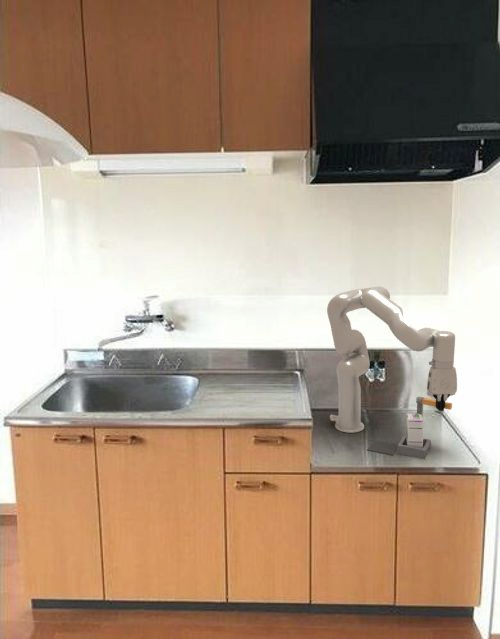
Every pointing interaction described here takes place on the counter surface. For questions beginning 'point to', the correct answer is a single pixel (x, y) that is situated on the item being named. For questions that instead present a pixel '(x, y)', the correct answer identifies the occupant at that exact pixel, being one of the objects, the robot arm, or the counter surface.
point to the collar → (414, 448)
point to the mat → (383, 447)
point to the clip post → (420, 409)
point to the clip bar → (431, 402)
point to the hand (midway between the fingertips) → (440, 409)
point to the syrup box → (414, 430)
